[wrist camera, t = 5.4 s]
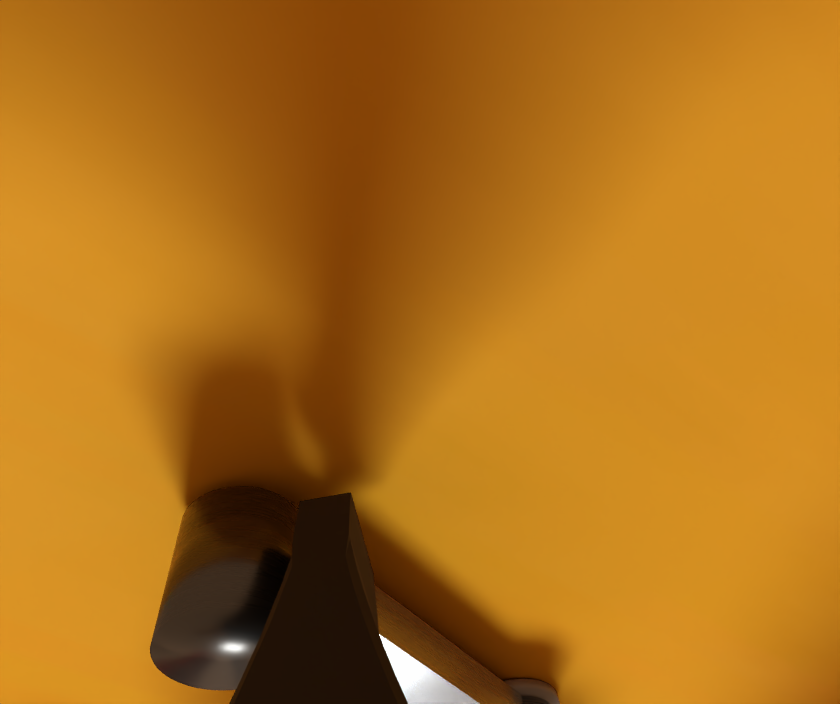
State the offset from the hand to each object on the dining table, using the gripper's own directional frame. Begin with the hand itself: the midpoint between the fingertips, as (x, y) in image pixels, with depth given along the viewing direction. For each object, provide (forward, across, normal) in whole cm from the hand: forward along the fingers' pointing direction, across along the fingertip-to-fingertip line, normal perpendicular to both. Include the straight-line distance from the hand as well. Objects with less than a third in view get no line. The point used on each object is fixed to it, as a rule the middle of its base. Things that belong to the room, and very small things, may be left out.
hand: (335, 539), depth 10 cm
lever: (+1, -1, +4) cm, 4 cm away
